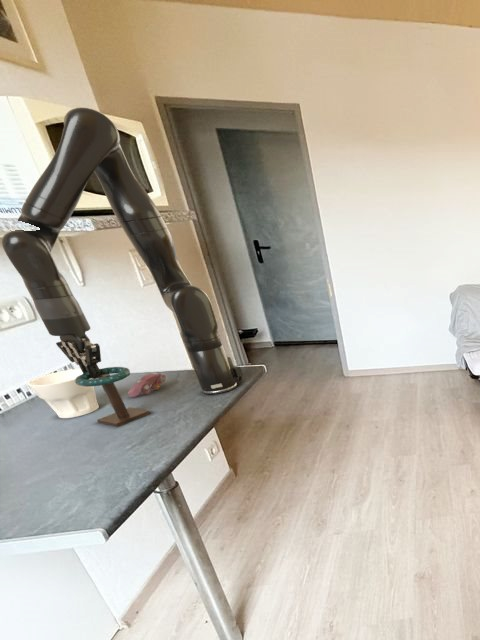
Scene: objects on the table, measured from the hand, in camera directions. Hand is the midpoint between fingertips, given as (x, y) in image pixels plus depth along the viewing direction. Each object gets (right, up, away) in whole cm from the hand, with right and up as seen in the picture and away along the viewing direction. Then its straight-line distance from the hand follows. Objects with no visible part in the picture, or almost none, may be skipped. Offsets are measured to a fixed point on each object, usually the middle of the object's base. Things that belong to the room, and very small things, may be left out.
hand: (94, 377), depth 112 cm
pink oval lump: (-4, -4, +21) cm, 21 cm away
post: (+4, -11, +4) cm, 13 cm away
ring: (+4, 0, -2) cm, 4 cm away
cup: (-13, -10, +8) cm, 18 cm away
